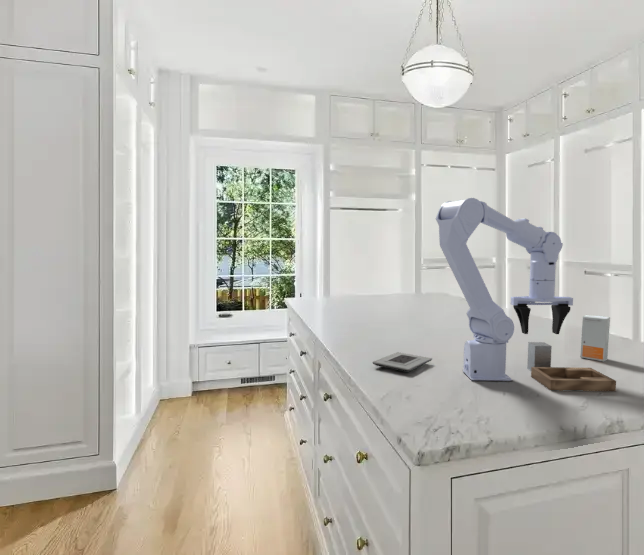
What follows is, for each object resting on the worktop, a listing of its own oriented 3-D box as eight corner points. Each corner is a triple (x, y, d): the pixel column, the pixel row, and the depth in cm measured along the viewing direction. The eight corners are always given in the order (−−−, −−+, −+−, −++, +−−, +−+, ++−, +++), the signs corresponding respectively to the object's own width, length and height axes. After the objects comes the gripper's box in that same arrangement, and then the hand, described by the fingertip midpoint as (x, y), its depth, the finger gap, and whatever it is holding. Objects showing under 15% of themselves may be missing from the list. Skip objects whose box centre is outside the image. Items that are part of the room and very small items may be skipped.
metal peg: (534, 373, 109) (535, 345, 109) (527, 368, 113) (528, 342, 113) (550, 373, 109) (551, 346, 109) (543, 368, 113) (544, 342, 113)
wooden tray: (550, 390, 97) (550, 380, 96) (531, 376, 106) (531, 367, 106) (615, 391, 96) (616, 380, 96) (590, 377, 106) (590, 367, 106)
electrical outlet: (397, 359, 124) (397, 351, 124) (432, 365, 118) (432, 357, 117) (372, 369, 114) (372, 360, 114) (408, 377, 108) (408, 368, 107)
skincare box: (579, 358, 123) (581, 316, 122) (583, 355, 126) (585, 314, 125) (605, 362, 119) (607, 318, 118) (608, 359, 122) (610, 316, 121)
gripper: (519, 281, 106) (517, 336, 107) (580, 281, 105) (578, 336, 106) (508, 278, 113) (506, 330, 114) (565, 278, 112) (563, 331, 113)
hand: (540, 333), depth 110 cm, fingers open, 7 cm apart
